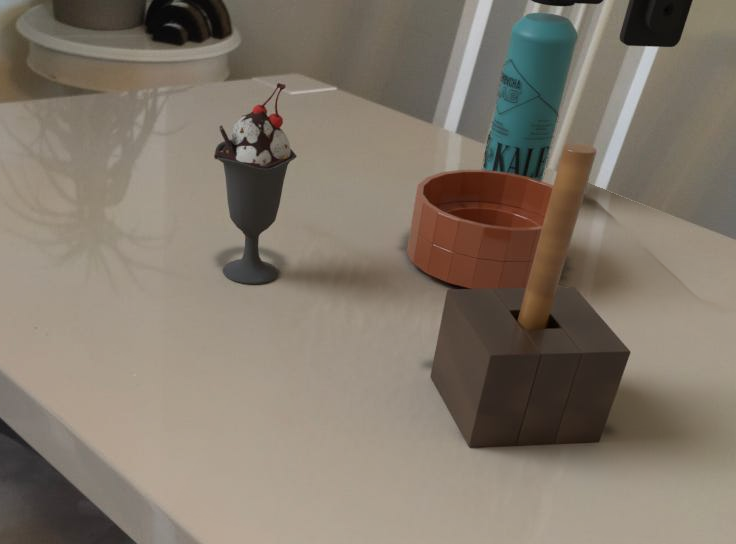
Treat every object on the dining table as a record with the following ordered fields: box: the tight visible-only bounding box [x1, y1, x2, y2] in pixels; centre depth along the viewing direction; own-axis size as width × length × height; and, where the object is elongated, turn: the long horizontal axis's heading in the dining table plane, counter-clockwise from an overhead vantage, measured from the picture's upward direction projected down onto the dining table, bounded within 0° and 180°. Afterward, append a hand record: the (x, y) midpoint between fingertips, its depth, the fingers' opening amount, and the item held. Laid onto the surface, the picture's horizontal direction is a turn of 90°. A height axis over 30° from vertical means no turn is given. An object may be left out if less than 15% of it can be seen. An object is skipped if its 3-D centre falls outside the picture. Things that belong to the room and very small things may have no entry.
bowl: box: [406, 169, 565, 289], centre depth 88 cm, size 14×14×6 cm
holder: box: [430, 286, 631, 448], centre depth 70 cm, size 10×10×7 cm
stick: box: [517, 142, 597, 330], centre depth 66 cm, size 2×2×18 cm
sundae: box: [213, 82, 298, 285], centre depth 81 cm, size 7×7×15 cm
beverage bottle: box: [480, 0, 579, 182], centre depth 96 cm, size 6×7×20 cm
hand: (609, 22), depth 55 cm, fingers open, 9 cm apart
